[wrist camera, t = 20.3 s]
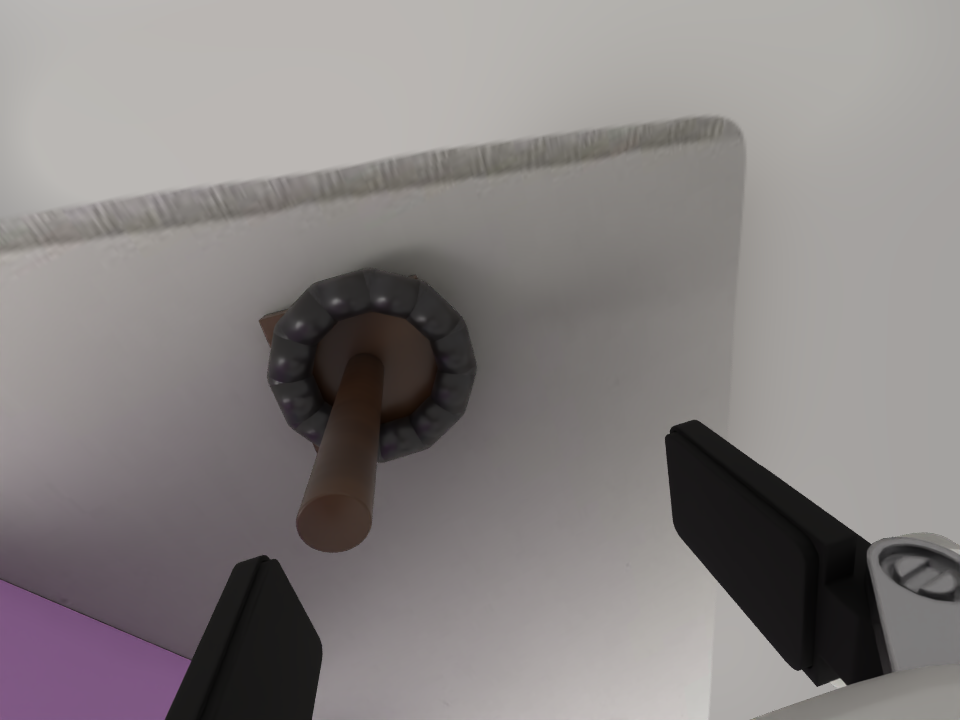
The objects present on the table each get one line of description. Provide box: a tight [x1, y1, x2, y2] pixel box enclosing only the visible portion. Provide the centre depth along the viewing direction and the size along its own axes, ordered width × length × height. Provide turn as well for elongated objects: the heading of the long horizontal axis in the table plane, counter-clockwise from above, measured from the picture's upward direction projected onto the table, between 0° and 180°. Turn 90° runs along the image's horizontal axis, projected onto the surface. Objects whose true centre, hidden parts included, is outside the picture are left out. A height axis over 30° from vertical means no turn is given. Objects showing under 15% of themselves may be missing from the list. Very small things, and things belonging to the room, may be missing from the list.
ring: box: [267, 268, 477, 463], centre depth 22 cm, size 10×10×2 cm
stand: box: [259, 275, 438, 553], centre depth 18 cm, size 8×8×13 cm
